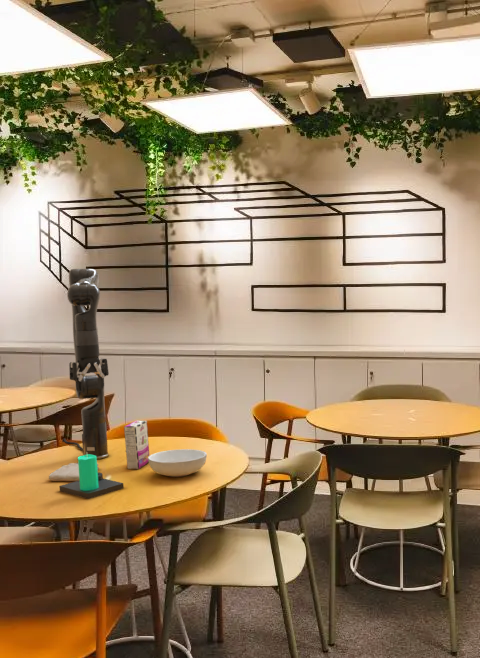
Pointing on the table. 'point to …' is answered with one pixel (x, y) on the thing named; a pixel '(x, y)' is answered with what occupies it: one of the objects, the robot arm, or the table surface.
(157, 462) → the serving bowl
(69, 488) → the scale
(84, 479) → the candle
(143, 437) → the candy bar box
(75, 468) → the washcloth
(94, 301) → the robot arm
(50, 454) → the table surface
